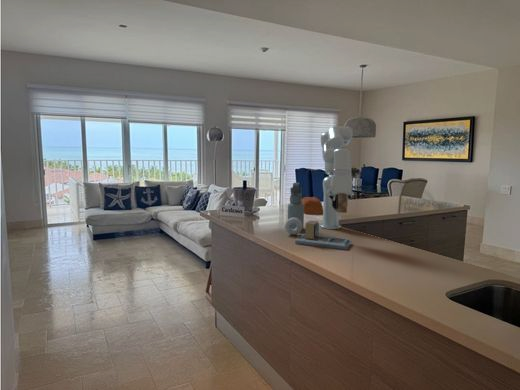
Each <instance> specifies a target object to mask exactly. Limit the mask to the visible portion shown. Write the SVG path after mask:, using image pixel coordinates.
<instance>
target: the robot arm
mask: <svg viewBox="0 0 520 390" xmlns="http://www.w3.org/2000/svg"><path fill="white" fill-rule="evenodd" d="M353 133H354V132H353V129H352V128H351V127H350V126H348V125H347V126H346V125H345V126H344V125H343V126H341V125H339V126H338V125H336V126H330V127H329V128H328V130H327V131H325V132H323V133H322V134H321V135H320V144H321V145H320V146H321V150H322V153H321V154H322V159H323V162H324V171H325V174H326V175H327V176H326V177H324V179H322V191H323V204H322V206H323V212H322V216H323V217H322V223H321V224H319V228H323V229H329V230H337V229H341V228H342V225H341V224H340V223H339V220H340V219H339V218H340V217H339V216H340V214H339V213H338V212H336V211H334V208H336V201H335V198H336V195H347V202H349V200H350V199H351V198H352V197H353V196H354V195H355V193H354V191H353V190H352V189H353V182H352V181H353V179H352V178H353V177H352V164H351V162H350V159H351V152H350V150H349V149H347V148H346V149H345V148H342V147H344V146H348V145H349V144H350V143H351V141H352V139H353V135H354V134H353Z"/></svg>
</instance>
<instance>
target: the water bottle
mask: <svg viewBox="0 0 520 390" xmlns="http://www.w3.org/2000/svg"><path fill="white" fill-rule="evenodd" d="M289 193H290V196H289V203H288V204H287V220H288V219H290V218H298V219H299V220H300V221H301V222H302V226H303V227H302V230H304V227H305V226H304V224H305V223H304V222H305V217H304V216H305V214H304V205H303V204H302V203H301V201H302V199H303V198H302V197H303V196H302V195H303V187H300V182H293V183H292V187H290V192H289ZM296 227H297V226H296V224H292V225H291V228H292V229H295V228H296Z"/></svg>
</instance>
